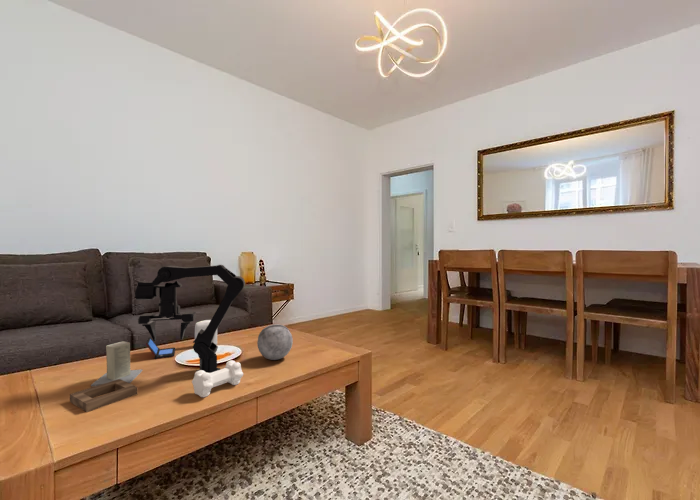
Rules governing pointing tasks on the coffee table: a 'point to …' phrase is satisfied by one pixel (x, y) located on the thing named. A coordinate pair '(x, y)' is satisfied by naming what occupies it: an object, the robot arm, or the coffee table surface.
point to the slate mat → (127, 379)
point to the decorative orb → (275, 341)
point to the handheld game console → (160, 350)
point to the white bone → (216, 378)
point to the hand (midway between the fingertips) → (168, 340)
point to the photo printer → (203, 326)
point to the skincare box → (118, 360)
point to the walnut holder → (89, 403)
